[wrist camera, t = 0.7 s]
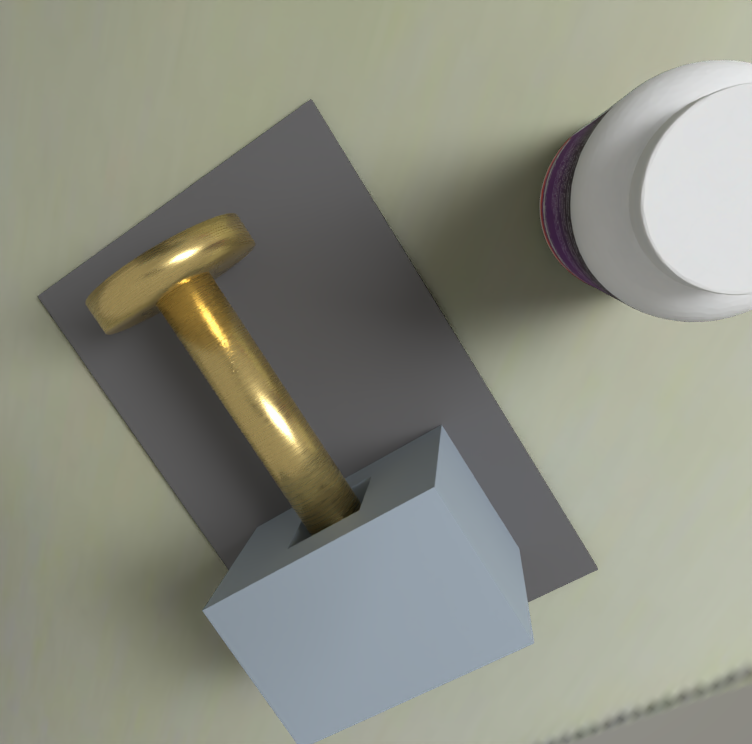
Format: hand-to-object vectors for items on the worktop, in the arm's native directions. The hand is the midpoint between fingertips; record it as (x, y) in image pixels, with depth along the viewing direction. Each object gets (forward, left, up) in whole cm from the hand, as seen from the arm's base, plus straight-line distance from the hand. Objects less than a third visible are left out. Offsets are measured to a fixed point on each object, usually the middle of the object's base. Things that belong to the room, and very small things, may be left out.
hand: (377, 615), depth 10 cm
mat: (+1, -8, -25) cm, 26 cm away
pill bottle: (-1, +11, -25) cm, 27 cm away
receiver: (+8, -8, -25) cm, 27 cm away
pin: (-1, -8, -24) cm, 26 cm away
